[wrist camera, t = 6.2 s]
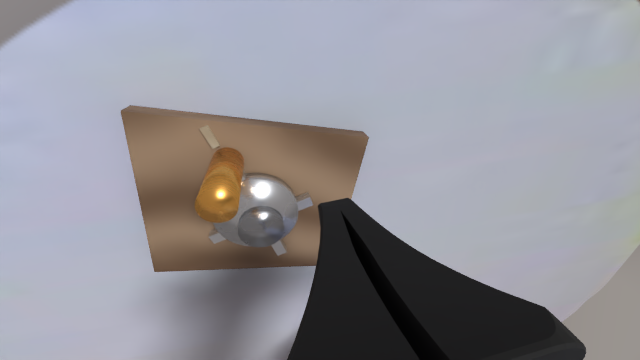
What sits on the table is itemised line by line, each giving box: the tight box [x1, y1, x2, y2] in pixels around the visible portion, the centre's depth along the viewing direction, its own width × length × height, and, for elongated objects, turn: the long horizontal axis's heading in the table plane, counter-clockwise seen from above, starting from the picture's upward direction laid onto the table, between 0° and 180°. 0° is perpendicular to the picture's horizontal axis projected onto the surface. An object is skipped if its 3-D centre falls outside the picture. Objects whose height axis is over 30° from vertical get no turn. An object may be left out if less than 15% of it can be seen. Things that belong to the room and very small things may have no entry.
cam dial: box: [195, 147, 313, 256], centre depth 16 cm, size 10×8×5 cm
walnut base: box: [121, 105, 369, 272], centre depth 19 cm, size 13×15×1 cm
